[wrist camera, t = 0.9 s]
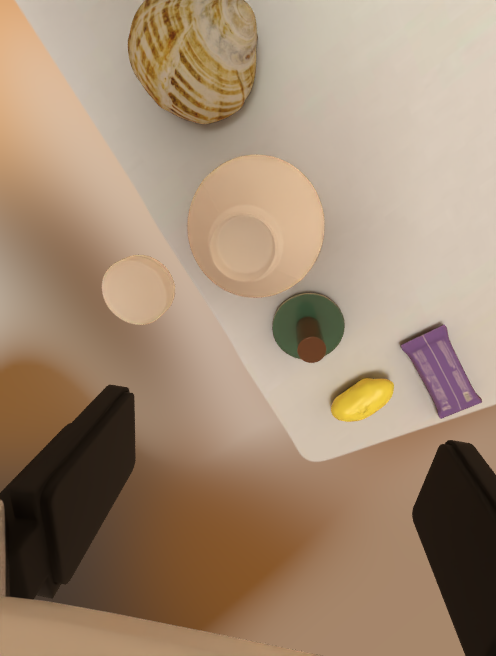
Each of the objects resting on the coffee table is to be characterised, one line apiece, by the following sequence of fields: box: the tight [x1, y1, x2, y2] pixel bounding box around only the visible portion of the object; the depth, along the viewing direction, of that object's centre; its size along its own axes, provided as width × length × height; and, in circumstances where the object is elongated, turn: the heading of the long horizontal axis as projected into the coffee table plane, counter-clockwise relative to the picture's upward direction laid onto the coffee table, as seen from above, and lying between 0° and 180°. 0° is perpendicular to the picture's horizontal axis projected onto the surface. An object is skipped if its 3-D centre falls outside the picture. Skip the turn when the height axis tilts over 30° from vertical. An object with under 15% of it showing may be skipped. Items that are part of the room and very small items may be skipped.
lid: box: [273, 293, 345, 363], centre depth 35 cm, size 8×8×7 cm
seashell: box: [128, 0, 258, 124], centre depth 27 cm, size 10×10×10 cm
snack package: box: [401, 325, 482, 419], centre depth 38 cm, size 12×2×5 cm
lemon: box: [331, 378, 394, 422], centre depth 39 cm, size 4×8×4 cm, turn 125°
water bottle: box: [102, 155, 324, 325], centre depth 23 cm, size 9×6×25 cm
